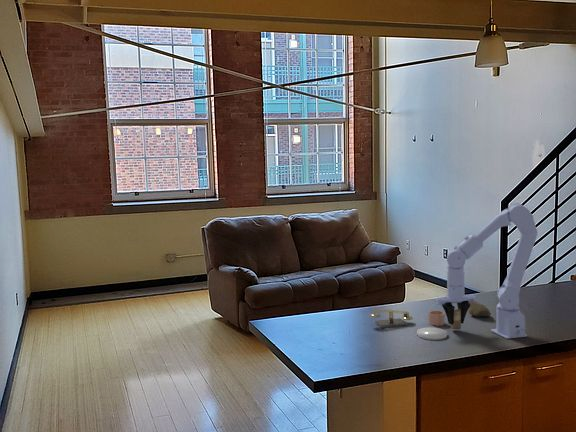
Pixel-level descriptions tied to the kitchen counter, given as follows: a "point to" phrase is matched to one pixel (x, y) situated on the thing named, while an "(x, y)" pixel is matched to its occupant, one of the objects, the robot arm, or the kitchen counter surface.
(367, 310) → the kitchen counter surface
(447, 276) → the robot arm
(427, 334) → the white glossy domed part
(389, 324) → the balance
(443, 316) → the sleeve
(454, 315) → the peg
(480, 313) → the fossil
